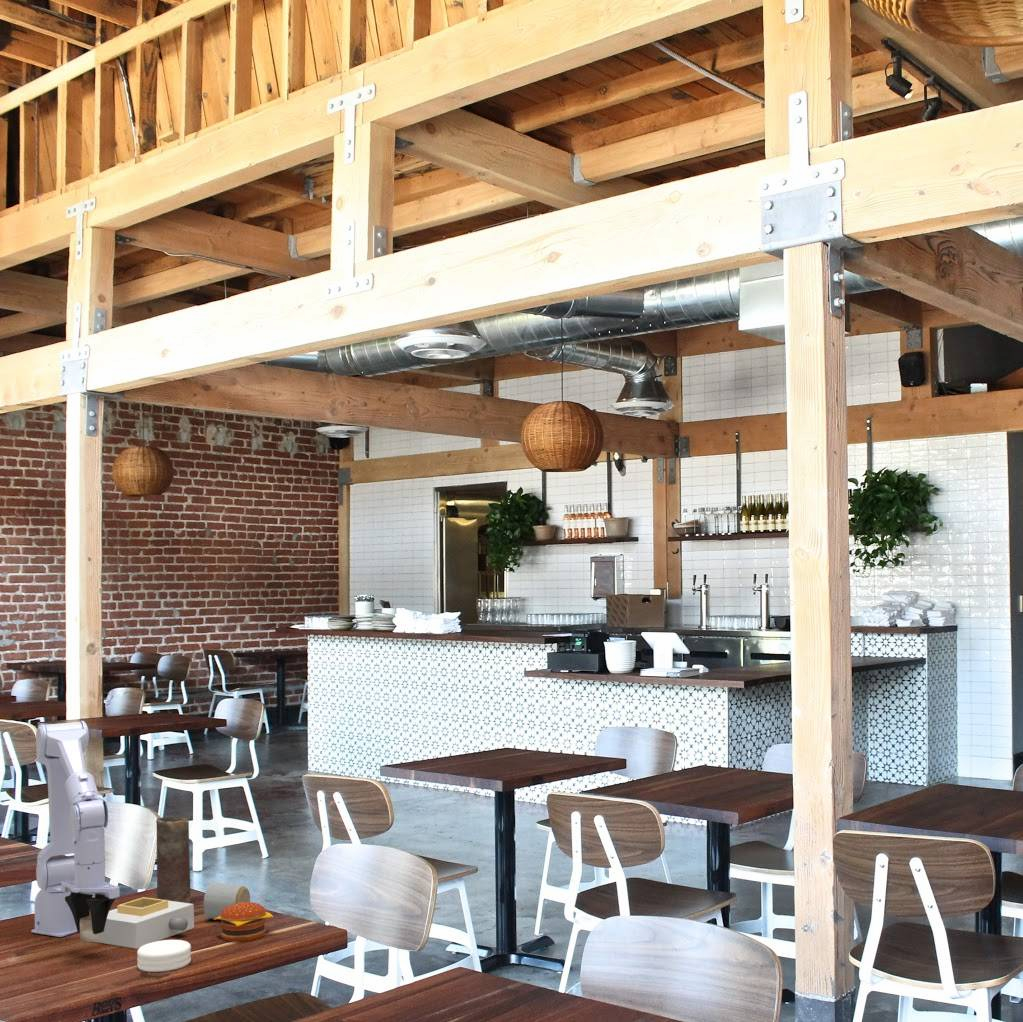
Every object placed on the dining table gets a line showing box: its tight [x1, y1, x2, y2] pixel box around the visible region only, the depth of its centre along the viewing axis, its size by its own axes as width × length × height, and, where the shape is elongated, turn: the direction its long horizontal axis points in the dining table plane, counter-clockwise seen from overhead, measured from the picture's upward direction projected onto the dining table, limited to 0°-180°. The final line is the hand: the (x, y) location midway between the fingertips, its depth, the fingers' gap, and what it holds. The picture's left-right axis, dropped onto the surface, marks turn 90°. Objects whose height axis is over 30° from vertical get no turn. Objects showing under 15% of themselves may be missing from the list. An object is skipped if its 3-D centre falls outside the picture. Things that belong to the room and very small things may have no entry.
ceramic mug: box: [202, 881, 251, 920], centre depth 267 cm, size 11×8×8 cm
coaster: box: [136, 939, 192, 973], centre depth 234 cm, size 10×10×4 cm
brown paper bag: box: [156, 816, 192, 903], centre depth 277 cm, size 8×7×20 cm
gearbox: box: [92, 896, 195, 950], centre depth 255 cm, size 16×16×6 cm
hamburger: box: [213, 901, 274, 943], centre depth 252 cm, size 9×10×7 cm
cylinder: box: [79, 915, 101, 943], centre depth 242 cm, size 4×4×4 cm
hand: (90, 931), depth 242 cm, fingers closed on cylinder, 4 cm apart
